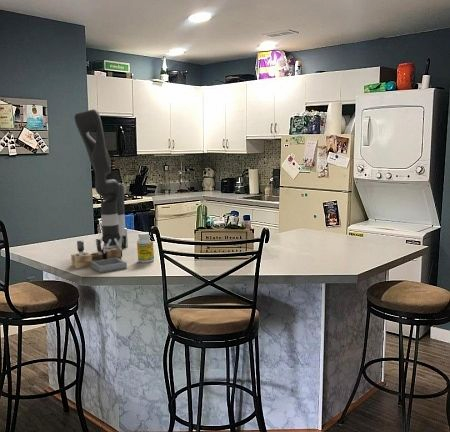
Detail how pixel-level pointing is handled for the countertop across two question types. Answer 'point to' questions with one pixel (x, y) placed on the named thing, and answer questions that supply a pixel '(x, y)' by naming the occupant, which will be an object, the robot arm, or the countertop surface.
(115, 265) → the tray
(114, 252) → the block
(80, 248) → the pin gauge
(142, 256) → the supplement bottle
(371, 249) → the countertop surface
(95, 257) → the pin stand
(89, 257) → the block
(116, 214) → the robot arm
